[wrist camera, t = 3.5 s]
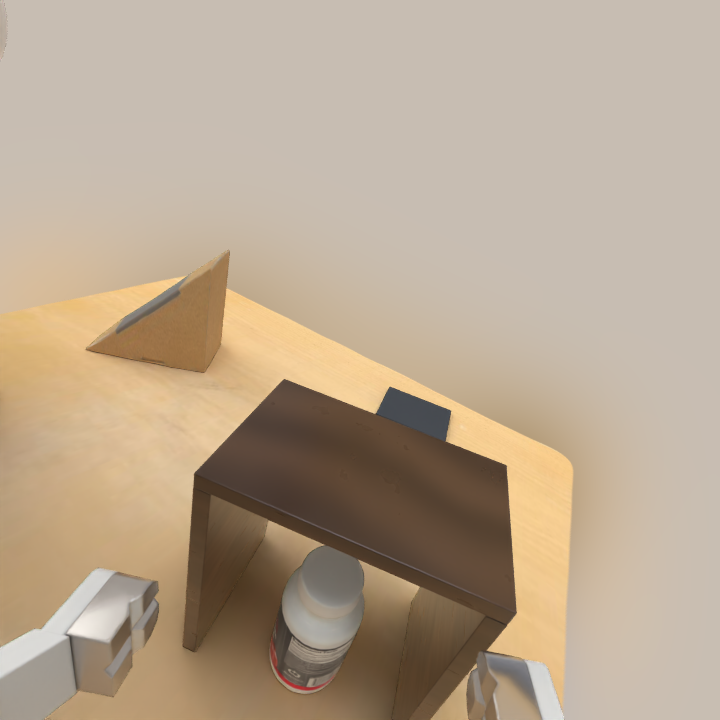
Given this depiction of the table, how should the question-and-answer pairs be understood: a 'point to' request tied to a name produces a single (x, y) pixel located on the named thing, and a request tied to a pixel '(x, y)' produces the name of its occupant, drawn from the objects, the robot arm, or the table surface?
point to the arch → (362, 525)
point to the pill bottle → (317, 620)
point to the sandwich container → (175, 322)
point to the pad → (415, 413)
